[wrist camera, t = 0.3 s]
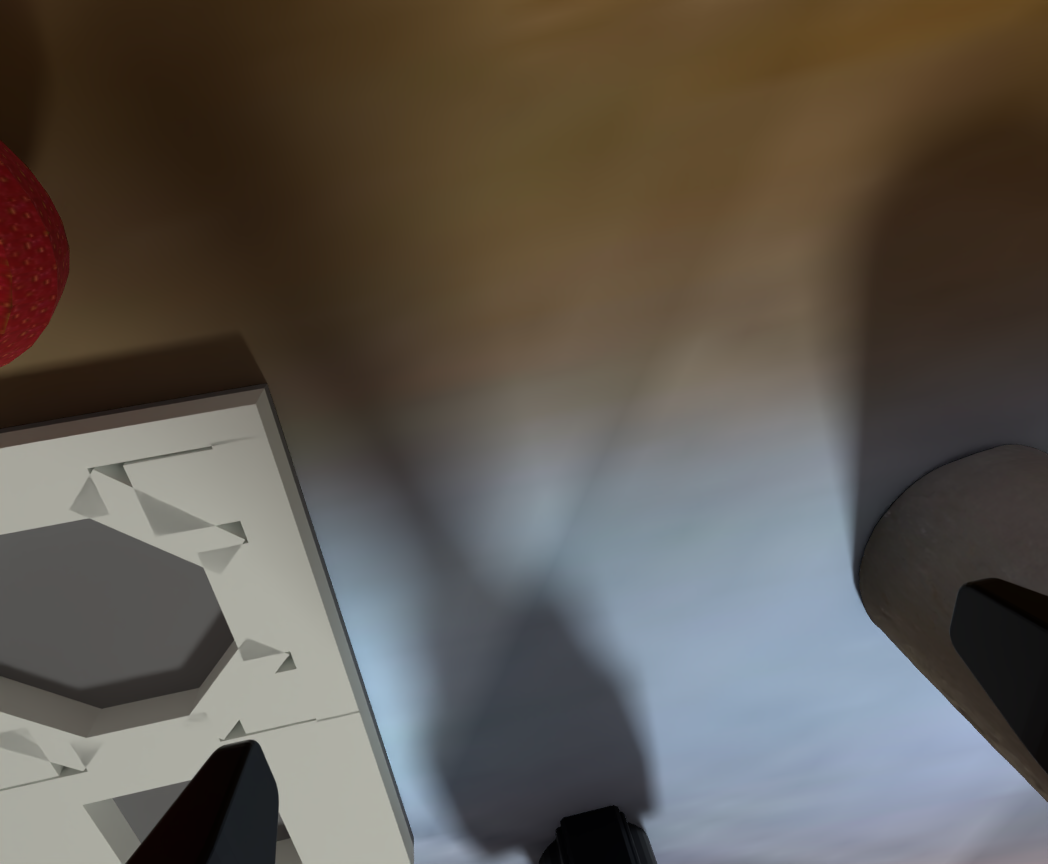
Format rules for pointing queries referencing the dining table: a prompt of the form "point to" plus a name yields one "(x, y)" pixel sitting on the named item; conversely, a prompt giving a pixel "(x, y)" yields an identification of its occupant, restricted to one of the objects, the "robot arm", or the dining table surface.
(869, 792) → the dining table surface
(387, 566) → the dining table surface
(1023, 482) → the pillar candle
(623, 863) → the robot arm
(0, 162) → the strawberry
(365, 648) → the dining table surface
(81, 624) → the socket board
